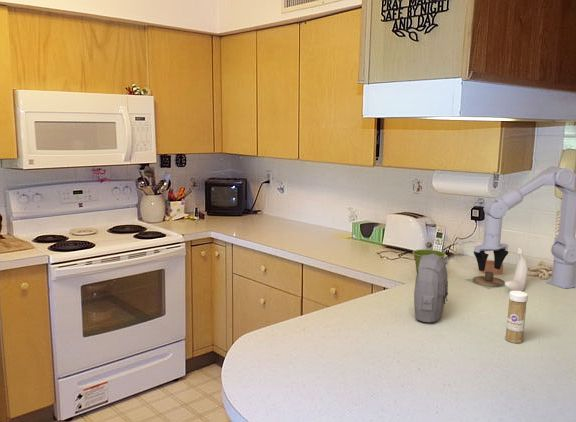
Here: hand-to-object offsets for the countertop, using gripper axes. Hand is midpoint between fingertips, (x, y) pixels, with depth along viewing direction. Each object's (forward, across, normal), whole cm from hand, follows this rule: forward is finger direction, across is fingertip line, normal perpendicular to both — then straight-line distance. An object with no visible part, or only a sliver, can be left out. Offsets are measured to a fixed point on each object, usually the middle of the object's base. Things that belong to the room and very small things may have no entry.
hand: (489, 269), depth 190 cm
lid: (+5, 0, 0) cm, 5 cm away
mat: (+5, 0, 0) cm, 5 cm away
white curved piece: (+6, -2, +11) cm, 12 cm away
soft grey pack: (+6, +44, +22) cm, 49 cm away
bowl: (+5, -12, -11) cm, 17 cm away
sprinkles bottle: (+6, +33, +43) cm, 54 cm away
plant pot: (+6, +21, -9) cm, 23 cm away
